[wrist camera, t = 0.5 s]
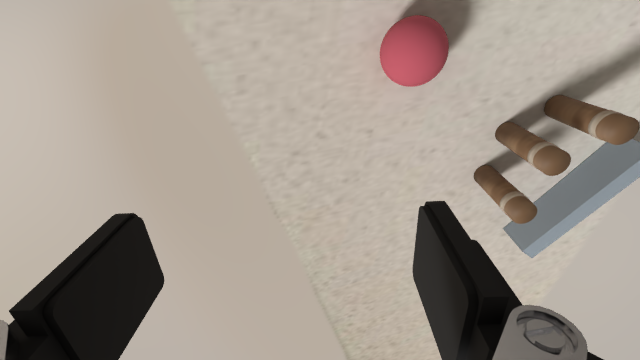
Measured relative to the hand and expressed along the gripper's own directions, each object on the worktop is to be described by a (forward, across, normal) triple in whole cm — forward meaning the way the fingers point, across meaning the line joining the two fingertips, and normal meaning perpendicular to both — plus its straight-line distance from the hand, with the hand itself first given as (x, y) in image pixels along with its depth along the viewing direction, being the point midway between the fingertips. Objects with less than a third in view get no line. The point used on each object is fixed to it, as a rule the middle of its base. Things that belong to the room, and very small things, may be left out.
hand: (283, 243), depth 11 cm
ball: (+22, -10, -4) cm, 25 cm away
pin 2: (+25, -26, +3) cm, 37 cm away
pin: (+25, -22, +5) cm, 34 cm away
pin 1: (+25, -20, +11) cm, 34 cm away
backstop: (+25, -30, +13) cm, 41 cm away
